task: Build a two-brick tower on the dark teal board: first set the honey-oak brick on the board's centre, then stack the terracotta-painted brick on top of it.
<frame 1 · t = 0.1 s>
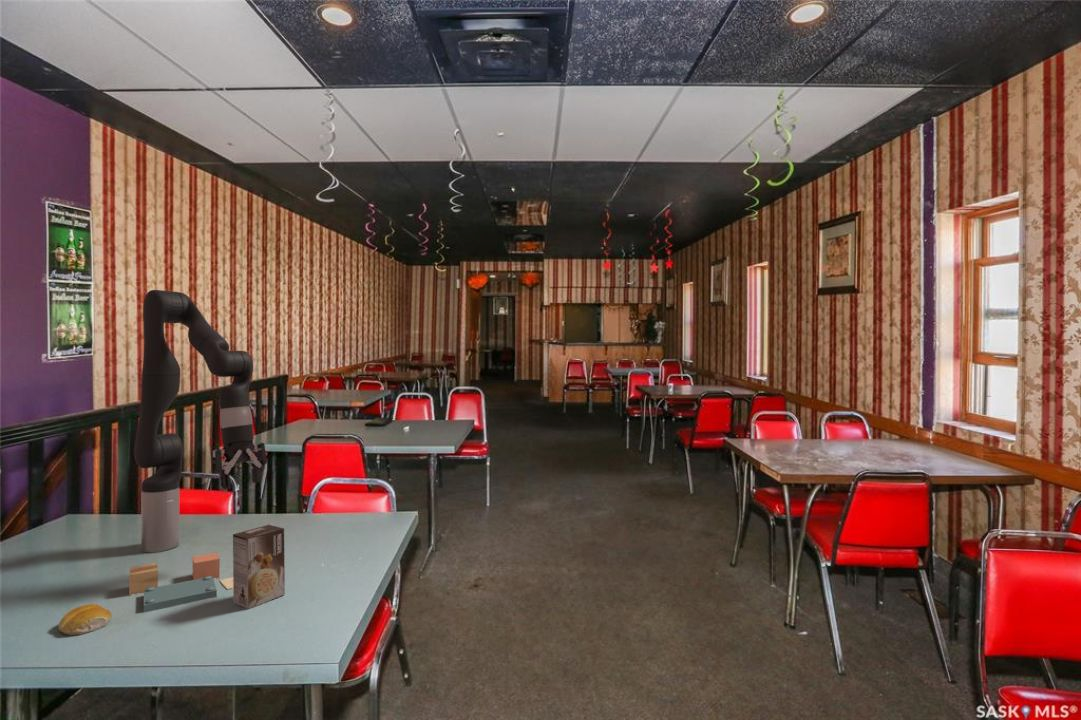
hand: (242, 485, 147), 22 cm above the table, tool pointing down, fingers open, 8 cm apart
board: (180, 596, 131), on the table
terracotta brick: (205, 577, 142), on the table
instruction card: (245, 579, 141), on the table
oak brick: (143, 589, 135), on the table
bread roll: (86, 627, 117), on the table
coffee box: (259, 600, 130), on the table
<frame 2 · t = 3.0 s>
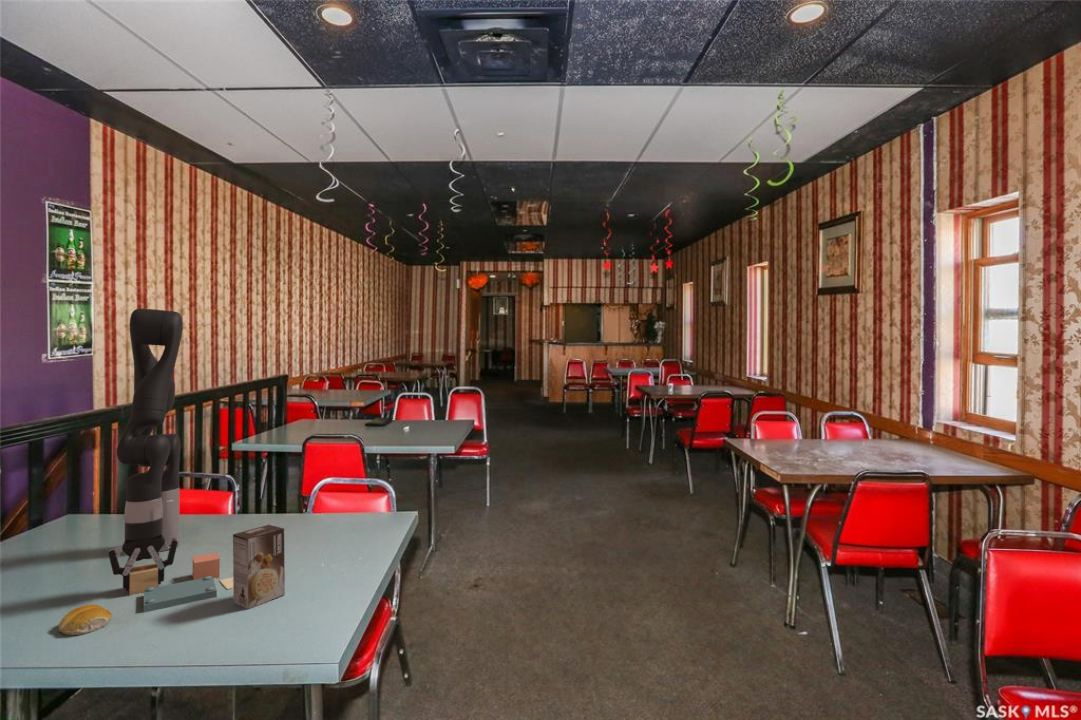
hand: (143, 586, 135), 1 cm above the table, tool pointing down, fingers closed on oak brick, 5 cm apart
oak brick: (143, 588, 135), on the table, touching gripper
everything else where it was.
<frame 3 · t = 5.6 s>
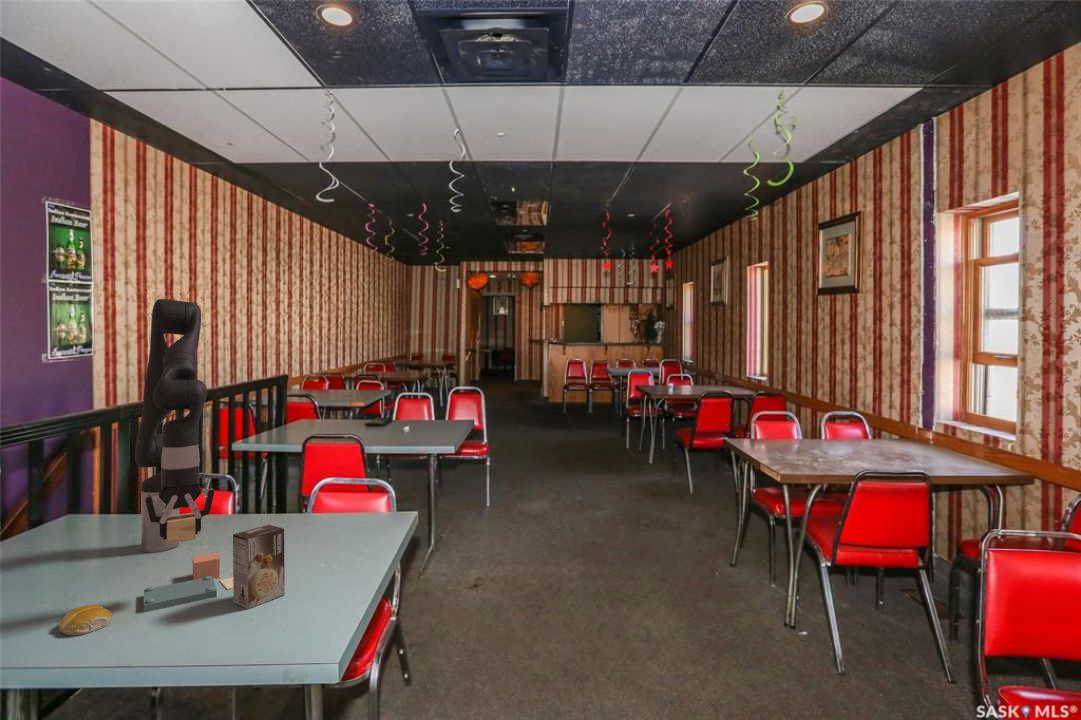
hand: (180, 535, 131), 14 cm above the table, tool pointing down, fingers closed on oak brick, 5 cm apart
oak brick: (180, 538, 131), point 14 cm above the table, touching gripper
everything else where it was.
when the fingers open (3 cm above the table, at t = 8.0 s): oak brick stays where it is, resting on board.
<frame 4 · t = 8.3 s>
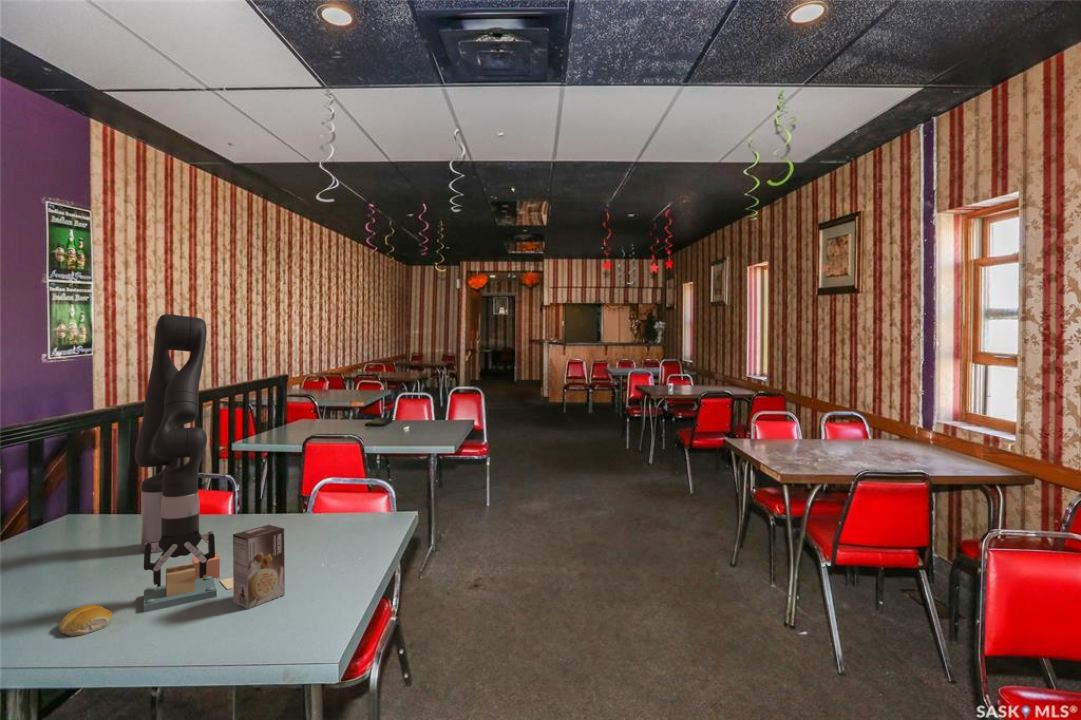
hand: (180, 581, 131), 4 cm above the table, tool pointing down, fingers open, 8 cm apart
oak brick: (180, 589, 131), point 1 cm above the table, touching board
everything else where it was.
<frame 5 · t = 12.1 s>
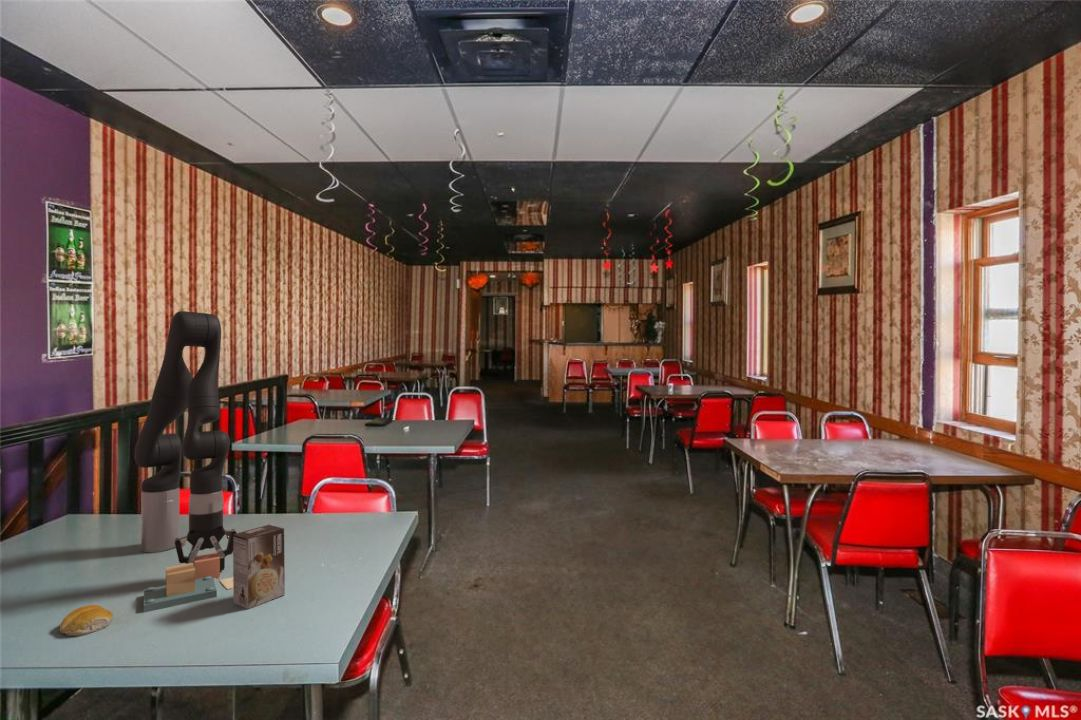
hand: (206, 574, 142), 1 cm above the table, tool pointing down, fingers closed on terracotta brick, 5 cm apart
terracotta brick: (206, 576, 142), on the table, touching gripper
everything else where it was.
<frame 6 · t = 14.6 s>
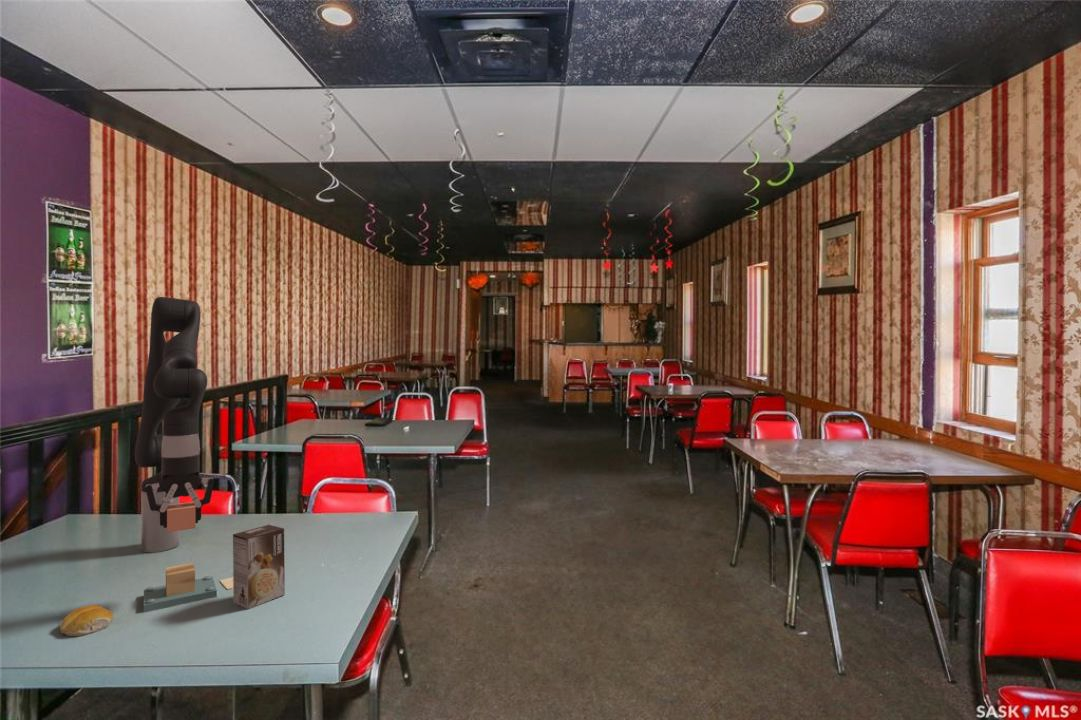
hand: (180, 524, 131), 17 cm above the table, tool pointing down, fingers closed on terracotta brick, 5 cm apart
terracotta brick: (180, 527, 131), point 16 cm above the table, touching gripper
everything else where it was.
when the fingers open (8 cm above the table, at t = 17.0 s): terracotta brick stays where it is, resting on oak brick.
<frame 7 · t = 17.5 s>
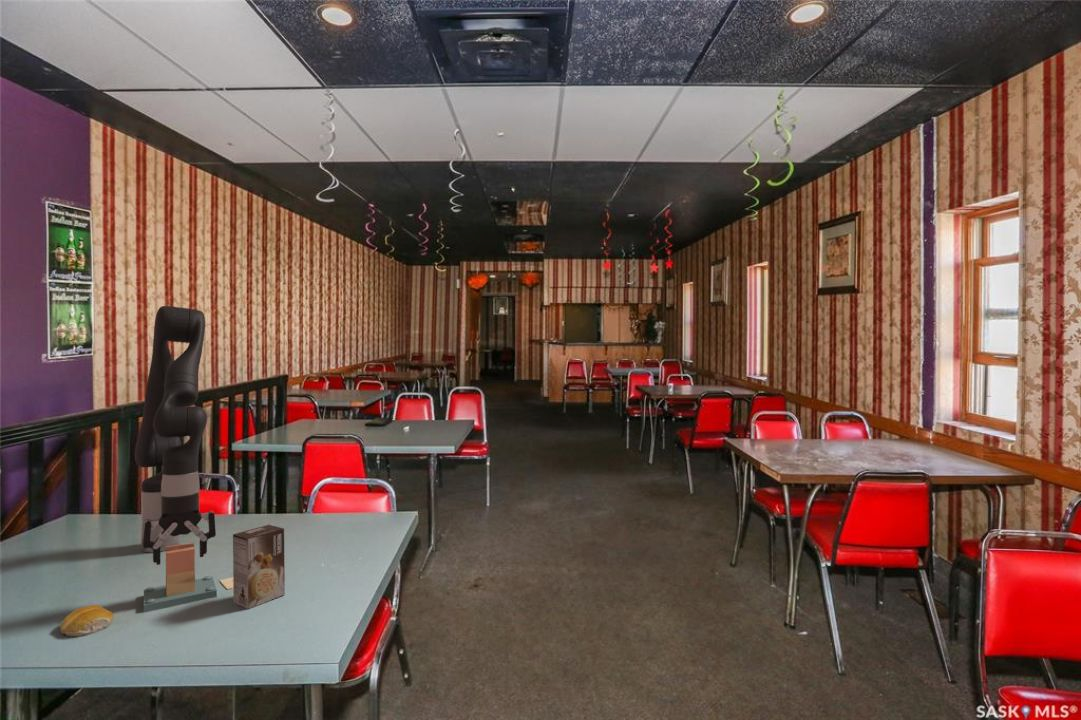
hand: (180, 559, 131), 9 cm above the table, tool pointing down, fingers open, 8 cm apart
terracotta brick: (180, 568, 131), point 6 cm above the table, touching oak brick
oak brick: (180, 589, 131), point 1 cm above the table, touching board, terracotta brick
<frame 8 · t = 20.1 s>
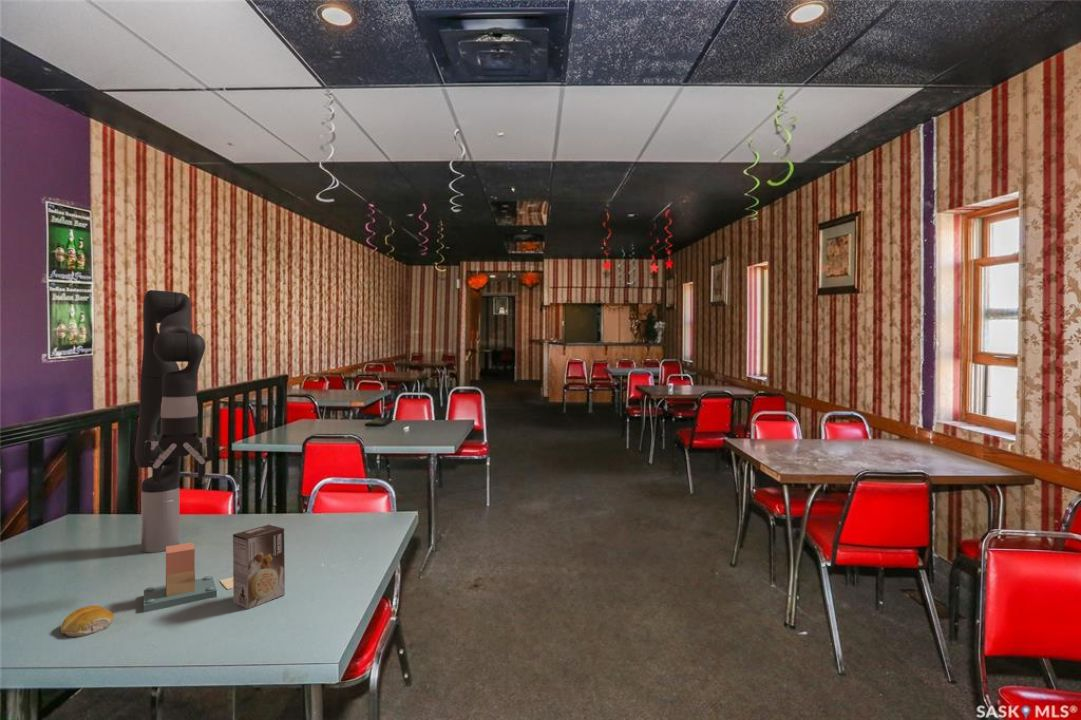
hand: (179, 481, 135), 26 cm above the table, tool pointing down, fingers open, 8 cm apart
at the end: oak brick 0.0 cm off-centre on the board, point 1.5 cm above the board's base; terracotta brick 0.0 cm off-centre on the oak brick, point 5.0 cm above the oak brick's base; terracotta brick tilted 0° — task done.
